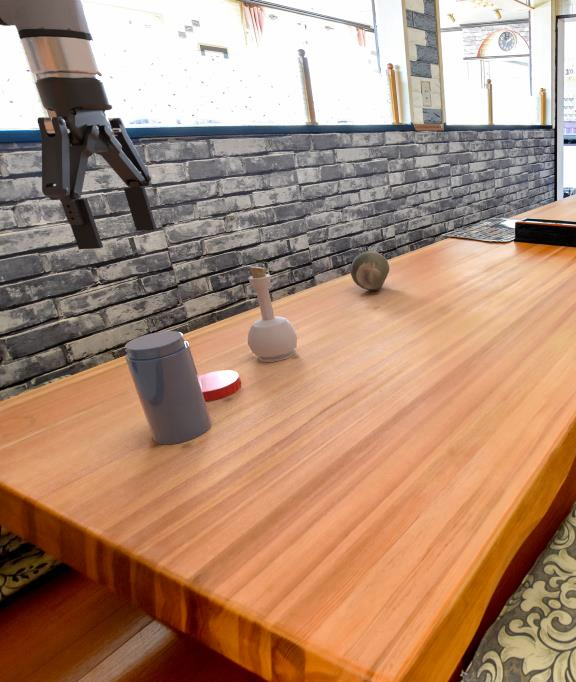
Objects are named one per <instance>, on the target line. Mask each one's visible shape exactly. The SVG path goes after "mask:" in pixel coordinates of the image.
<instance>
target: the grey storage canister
mask: <svg viewBox="0 0 576 682" xmlns="http://www.w3.org/2000/svg"><path fill="white" fill-rule="evenodd" d="M124 348H125V349H124V350H125V353H126V354H125V356H124V359H125V362H126V365H127V368H128V371H129V374H130V377H131V379H132V383H133V385H134V388H135V390H136V393H137V396H138V399H139V402H140V405H141V409H142V411H143V414H144V417H145V420H146V423H147V426H148V429H149V431H150V435H151V438H152V440H153V441H154V442H155V443H156V444H159V445H175V444H180V443H181V444H182V443H185V442H188V441H191V440H193V439H196V438H198V437H200V436H202V435H203V434H205V433H206V432H207V431H208V430H209V429H211V427H212V418H211V415H210V412H209V408H208V405H207V401H205V397H204V394H203V391H202V387H201V384H200V380H199V377H198V376H199V373H198V370H197V367H196V364H195V360H194V357H193V353H192V350H191V347H190V344H189V342H188V341H187V340H185V337H184V334H183V333H182V332H180V331H175V330H169V331H158V332H157V331H156V332H153V333H149V334H148V333H147V334H144V335H141V336H138V337H136V338H133V339H131V340H130V341H128V342H126V344H125V345H124Z"/></svg>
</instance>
